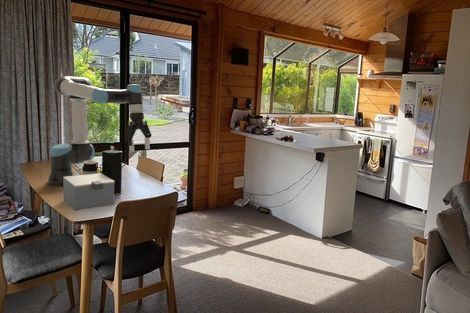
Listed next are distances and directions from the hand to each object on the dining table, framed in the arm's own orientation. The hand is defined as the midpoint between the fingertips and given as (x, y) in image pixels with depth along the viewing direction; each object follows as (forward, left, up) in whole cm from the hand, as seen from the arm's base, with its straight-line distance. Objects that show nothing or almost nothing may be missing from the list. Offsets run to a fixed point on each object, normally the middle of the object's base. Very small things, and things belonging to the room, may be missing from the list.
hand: (140, 150), depth 210 cm
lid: (+2, -28, -16) cm, 32 cm away
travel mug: (-19, -21, -27) cm, 39 cm away
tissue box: (-12, -11, -27) cm, 32 cm away
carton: (-1, -28, -27) cm, 39 cm away
